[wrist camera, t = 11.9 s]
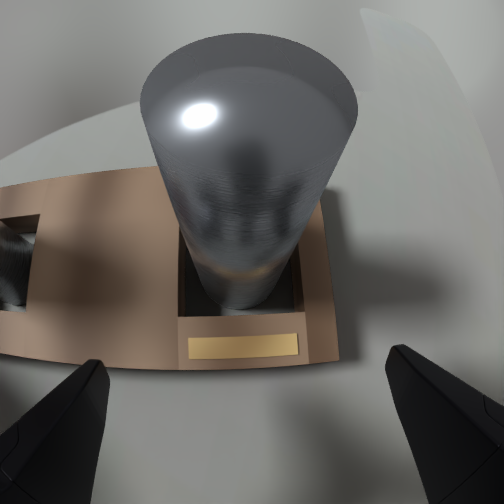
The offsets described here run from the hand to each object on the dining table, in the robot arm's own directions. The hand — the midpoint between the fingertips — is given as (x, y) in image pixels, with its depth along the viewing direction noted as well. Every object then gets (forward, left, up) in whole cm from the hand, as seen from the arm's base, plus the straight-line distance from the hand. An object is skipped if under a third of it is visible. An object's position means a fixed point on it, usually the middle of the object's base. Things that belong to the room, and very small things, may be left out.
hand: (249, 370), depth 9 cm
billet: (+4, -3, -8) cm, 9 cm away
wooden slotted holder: (+9, +2, -8) cm, 12 cm away
